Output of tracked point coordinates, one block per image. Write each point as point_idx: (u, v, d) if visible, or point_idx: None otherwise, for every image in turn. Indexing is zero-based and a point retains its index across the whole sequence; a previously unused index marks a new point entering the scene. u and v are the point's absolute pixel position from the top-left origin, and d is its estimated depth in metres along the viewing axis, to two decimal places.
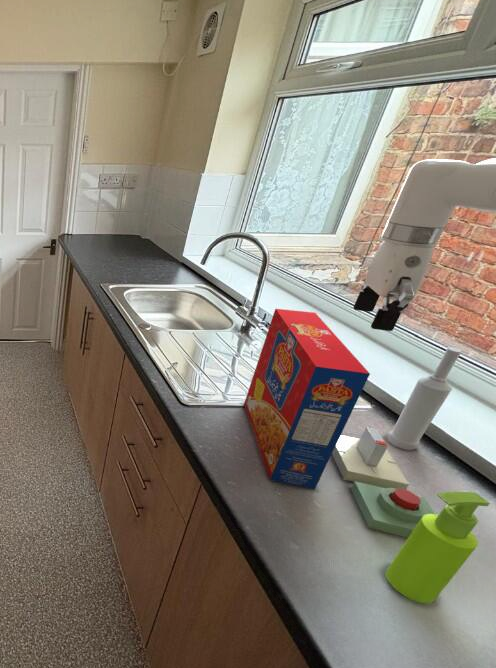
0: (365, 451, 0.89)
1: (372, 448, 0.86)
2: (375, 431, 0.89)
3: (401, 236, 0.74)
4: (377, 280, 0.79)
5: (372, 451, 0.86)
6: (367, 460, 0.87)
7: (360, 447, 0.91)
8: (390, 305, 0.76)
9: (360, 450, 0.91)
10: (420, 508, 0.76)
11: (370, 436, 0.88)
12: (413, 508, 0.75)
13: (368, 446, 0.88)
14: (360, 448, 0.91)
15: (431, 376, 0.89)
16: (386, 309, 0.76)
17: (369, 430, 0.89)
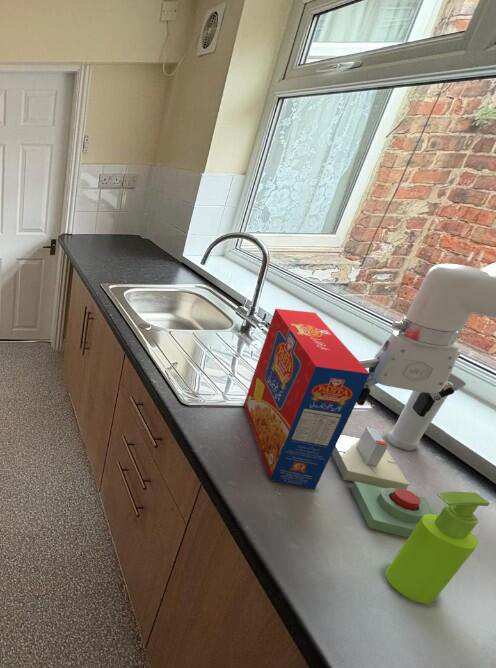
0: (365, 451, 0.89)
1: (372, 448, 0.86)
2: (375, 431, 0.89)
3: None
4: None
5: (372, 451, 0.86)
6: (367, 460, 0.87)
7: (360, 447, 0.91)
8: None
9: (360, 450, 0.91)
10: (420, 508, 0.76)
11: (370, 436, 0.88)
12: (413, 508, 0.75)
13: (368, 446, 0.88)
14: (360, 448, 0.91)
15: None
16: None
17: (369, 430, 0.89)
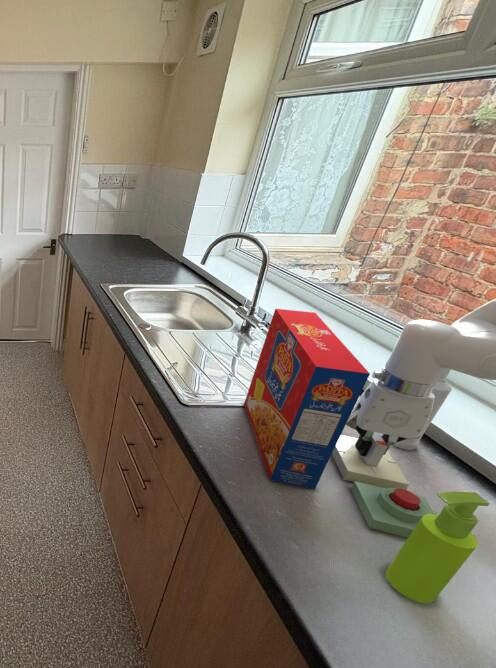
0: None
1: (372, 448, 0.86)
2: None
3: None
4: None
5: (372, 451, 0.86)
6: (367, 460, 0.87)
7: None
8: None
9: None
10: (420, 508, 0.76)
11: None
12: (413, 508, 0.75)
13: None
14: None
15: None
16: None
17: None
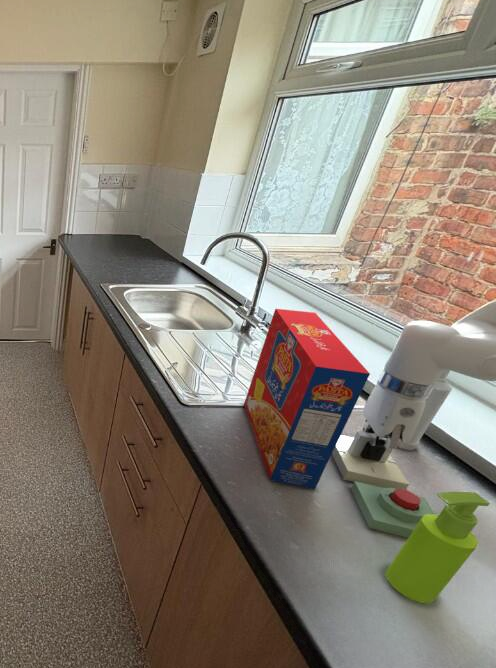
0: None
1: None
2: (364, 433, 0.88)
3: (396, 388, 0.80)
4: (374, 419, 0.85)
5: (390, 450, 0.86)
6: (384, 459, 0.88)
7: (360, 453, 0.89)
8: (377, 442, 0.85)
9: None
10: (420, 508, 0.76)
11: None
12: (413, 508, 0.75)
13: None
14: None
15: None
16: (373, 445, 0.86)
17: (367, 436, 0.87)
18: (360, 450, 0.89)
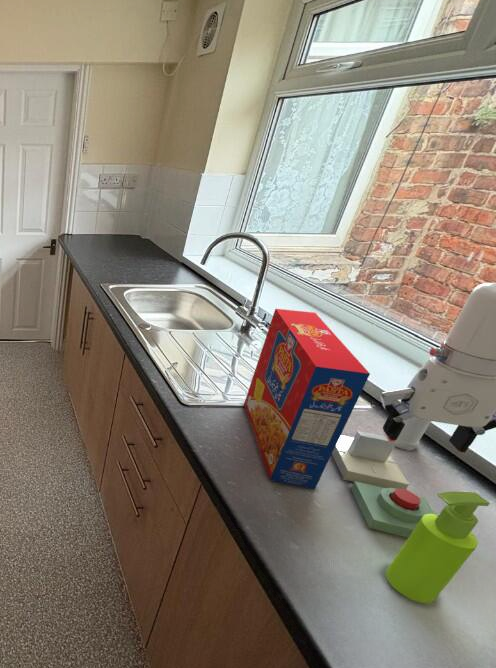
0: (375, 453, 0.88)
1: (389, 448, 0.86)
2: (364, 433, 0.88)
3: None
4: None
5: (390, 450, 0.86)
6: (384, 459, 0.88)
7: (360, 453, 0.89)
8: None
9: (363, 455, 0.89)
10: (420, 508, 0.76)
11: (376, 440, 0.87)
12: (413, 508, 0.75)
13: (378, 448, 0.87)
14: (362, 454, 0.89)
15: None
16: None
17: (367, 436, 0.87)
18: (360, 450, 0.89)
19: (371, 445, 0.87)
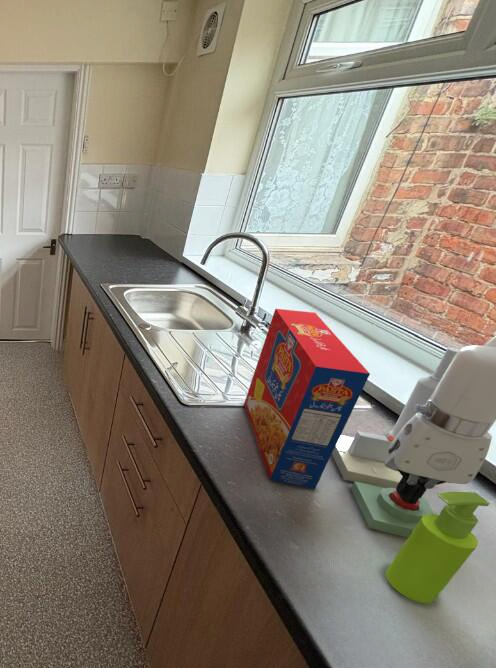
0: (375, 453, 0.88)
1: None
2: (364, 433, 0.88)
3: None
4: None
5: None
6: None
7: (360, 453, 0.89)
8: None
9: (363, 455, 0.89)
10: (420, 508, 0.76)
11: (376, 440, 0.87)
12: (412, 509, 0.76)
13: (378, 448, 0.87)
14: (362, 454, 0.89)
15: (431, 376, 0.89)
16: None
17: (367, 436, 0.87)
18: (360, 450, 0.89)
19: (371, 445, 0.87)
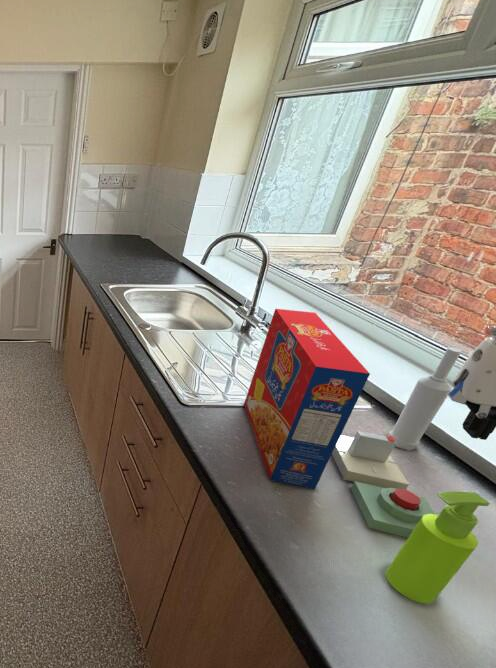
0: (375, 453, 0.88)
1: (389, 448, 0.86)
2: (364, 433, 0.88)
3: None
4: None
5: (390, 450, 0.86)
6: (384, 459, 0.88)
7: (360, 453, 0.89)
8: None
9: (363, 455, 0.89)
10: (420, 508, 0.76)
11: (376, 440, 0.87)
12: (413, 508, 0.75)
13: (378, 448, 0.87)
14: (362, 454, 0.89)
15: (431, 376, 0.89)
16: (468, 407, 0.70)
17: (367, 436, 0.87)
18: (360, 450, 0.89)
19: (371, 445, 0.87)
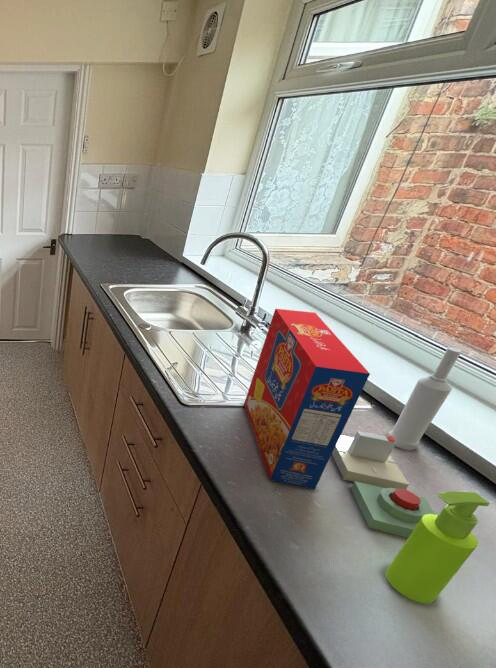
0: (375, 453, 0.88)
1: (389, 448, 0.86)
2: (364, 433, 0.88)
3: None
4: None
5: (390, 450, 0.86)
6: (384, 459, 0.88)
7: (360, 453, 0.89)
8: None
9: (363, 455, 0.89)
10: (420, 508, 0.76)
11: (376, 440, 0.87)
12: (413, 508, 0.75)
13: (378, 448, 0.87)
14: (362, 454, 0.89)
15: (431, 376, 0.89)
16: None
17: (367, 436, 0.87)
18: (360, 450, 0.89)
19: (371, 445, 0.87)
